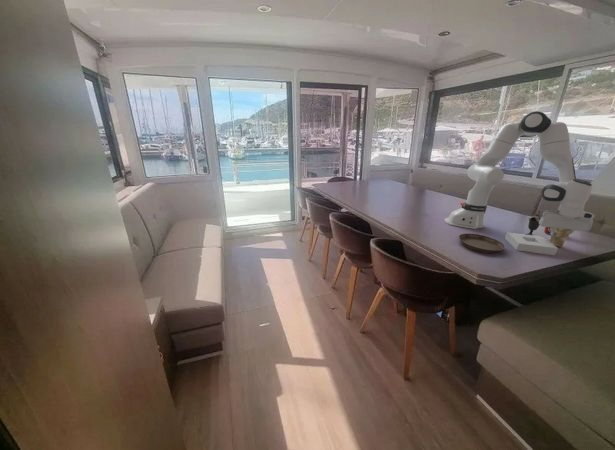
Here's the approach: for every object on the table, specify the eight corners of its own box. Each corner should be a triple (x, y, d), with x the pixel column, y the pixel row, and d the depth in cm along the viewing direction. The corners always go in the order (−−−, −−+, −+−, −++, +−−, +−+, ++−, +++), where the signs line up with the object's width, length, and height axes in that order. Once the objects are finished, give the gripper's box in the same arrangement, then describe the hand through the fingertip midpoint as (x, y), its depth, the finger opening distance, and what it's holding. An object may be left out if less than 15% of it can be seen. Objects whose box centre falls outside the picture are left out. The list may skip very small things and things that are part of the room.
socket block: (516, 250, 127) (519, 243, 126) (504, 238, 141) (507, 232, 140) (555, 255, 122) (558, 248, 121) (539, 242, 136) (541, 236, 135)
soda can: (561, 236, 146) (569, 217, 142) (548, 235, 147) (555, 216, 143) (553, 231, 152) (560, 213, 148) (540, 230, 154) (547, 212, 149)
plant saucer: (510, 249, 128) (512, 244, 127) (490, 258, 119) (492, 252, 117) (470, 236, 145) (471, 230, 144) (449, 243, 135) (450, 237, 134)
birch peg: (552, 245, 132) (560, 228, 128) (549, 242, 135) (555, 225, 132) (562, 246, 131) (569, 229, 127) (558, 243, 134) (565, 227, 131)
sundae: (533, 234, 148) (542, 210, 143) (539, 238, 142) (548, 214, 137) (520, 232, 150) (528, 209, 145) (525, 236, 144) (534, 212, 139)
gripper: (547, 210, 127) (538, 235, 132) (599, 215, 120) (587, 241, 125) (541, 207, 132) (532, 231, 137) (590, 212, 126) (579, 236, 131)
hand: (559, 236), depth 131 cm, fingers closed on birch peg, 4 cm apart
